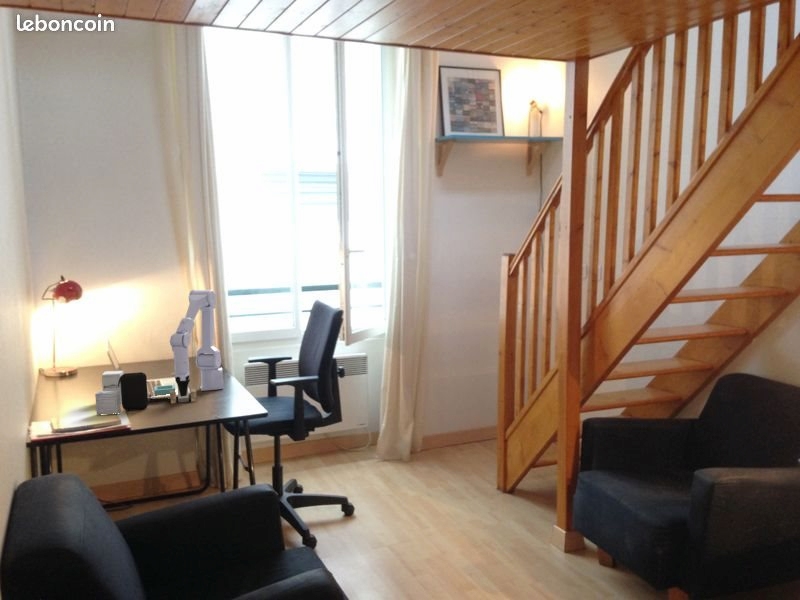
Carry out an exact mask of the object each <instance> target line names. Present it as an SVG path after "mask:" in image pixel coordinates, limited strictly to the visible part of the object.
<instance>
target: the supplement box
mask: <svg viewBox="0 0 800 600" xmlns="http://www.w3.org/2000/svg"><path fill="white" fill-rule="evenodd" d="M123 374H124V370H110V371H109V370H108V371H107V370H106V371H104V372H103V373H102V374H101V382H102V388H101V389H102V391H120V404H121V405H122V398H121V384H119V386H118V382H119V379H120V377H121V376H122V375H123Z"/></svg>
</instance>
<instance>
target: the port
mask: <svg viewBox="0 0 800 600" xmlns="http://www.w3.org/2000/svg"><path fill="white" fill-rule="evenodd" d="M153 389H154V390H153V391H154V394H155V396H157V395H166V394H170V391H173V390H176V385H175V384H169V385H156V386H154V387H153Z"/></svg>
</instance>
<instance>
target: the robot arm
mask: <svg viewBox="0 0 800 600" xmlns="http://www.w3.org/2000/svg"><path fill="white" fill-rule="evenodd" d="M216 298H217V294H216V293H215V292H214V290H213V289H192V290H190V291H189V295H188V302H189V303H188V308H187V311H186V314H185V317H183V318H181V320H180V322H179V324H178V326H177V328H176V331H175V333H173V334H171V336H170V339H169V343H170V344H169V345H170V346H171V350H172V353H173V362H174V363H173V365H174V372H172V373H171V376H173V377H174V376H175V377H174V379H175V383H176V384H177V388H178V387H179V391H180V395H181V396H186V394H187V387H188V388H189V383H190V380H191V379H190V375H191V372H190V363H189V361H190V359H189V347H190V345H191V342H192V341H191V339H192V335H191V334H192V331H193V329H194V327H195V321H194V320H195V318H196V316H197V315H198V314H199V312H200V311H201V347H200V348H199V349H198V350H197V351H196V357H195V365H196V366H197V368H198V370H200V384H201V385H200V386H199V387H200V392H202V391H213V390H224V383H225V382H224V373H223V372H224V371H223V368H222V367H220V366H221V364H222V357H221V350H220V349H218V348H217V347H216V346H215V326H214V325H215V322H214V321H215V317H214V315H215V314H214V313H215V311H214V309H216V307H217V299H216Z"/></svg>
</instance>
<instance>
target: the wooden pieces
mask: <svg viewBox="0 0 800 600" xmlns="http://www.w3.org/2000/svg"><path fill="white" fill-rule="evenodd" d="M175 390H176V389H175ZM175 390H173V391H170V397H171V398H170V404H177V398H176V392H175ZM189 390H190V402H197V401H198V400H197V390H196V388H190V389H189Z"/></svg>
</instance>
